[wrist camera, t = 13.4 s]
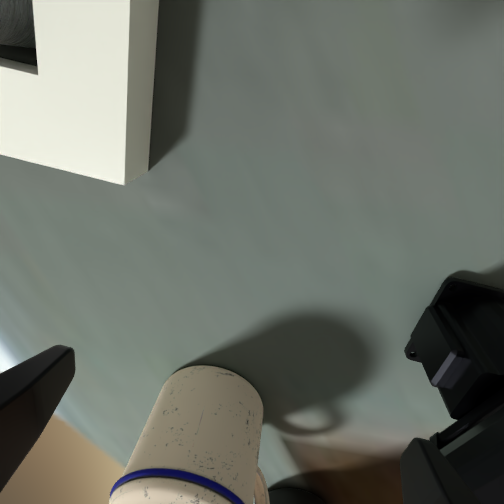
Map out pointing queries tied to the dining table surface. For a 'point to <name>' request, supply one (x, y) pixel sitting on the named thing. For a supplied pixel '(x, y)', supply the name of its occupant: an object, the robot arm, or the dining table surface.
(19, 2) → the metal peg
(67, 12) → the bore plate
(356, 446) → the dining table surface
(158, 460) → the teacup with lid
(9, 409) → the robot arm
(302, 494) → the cola bottle
